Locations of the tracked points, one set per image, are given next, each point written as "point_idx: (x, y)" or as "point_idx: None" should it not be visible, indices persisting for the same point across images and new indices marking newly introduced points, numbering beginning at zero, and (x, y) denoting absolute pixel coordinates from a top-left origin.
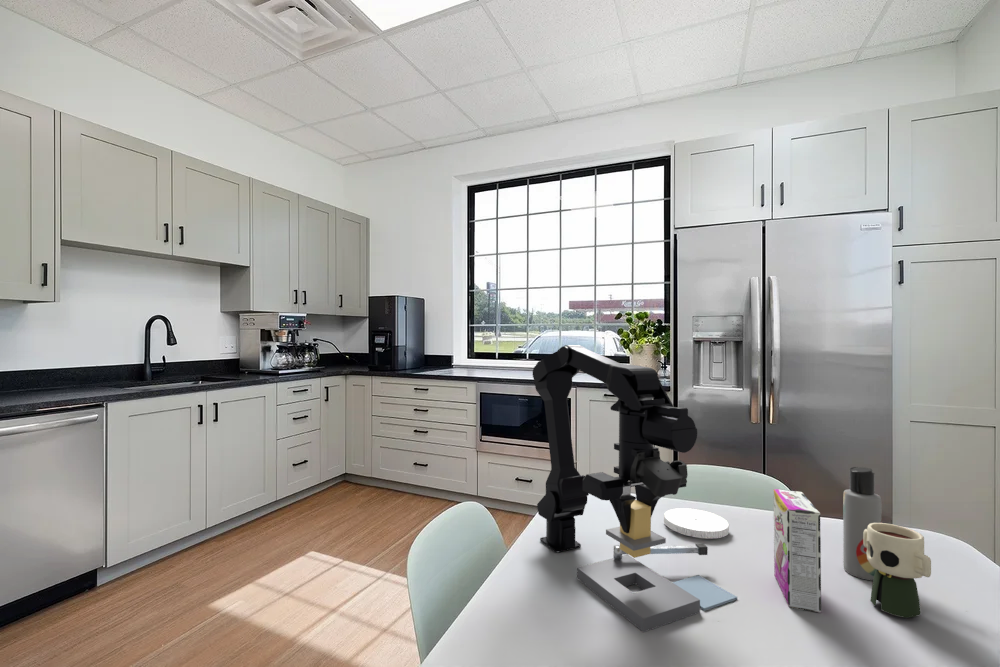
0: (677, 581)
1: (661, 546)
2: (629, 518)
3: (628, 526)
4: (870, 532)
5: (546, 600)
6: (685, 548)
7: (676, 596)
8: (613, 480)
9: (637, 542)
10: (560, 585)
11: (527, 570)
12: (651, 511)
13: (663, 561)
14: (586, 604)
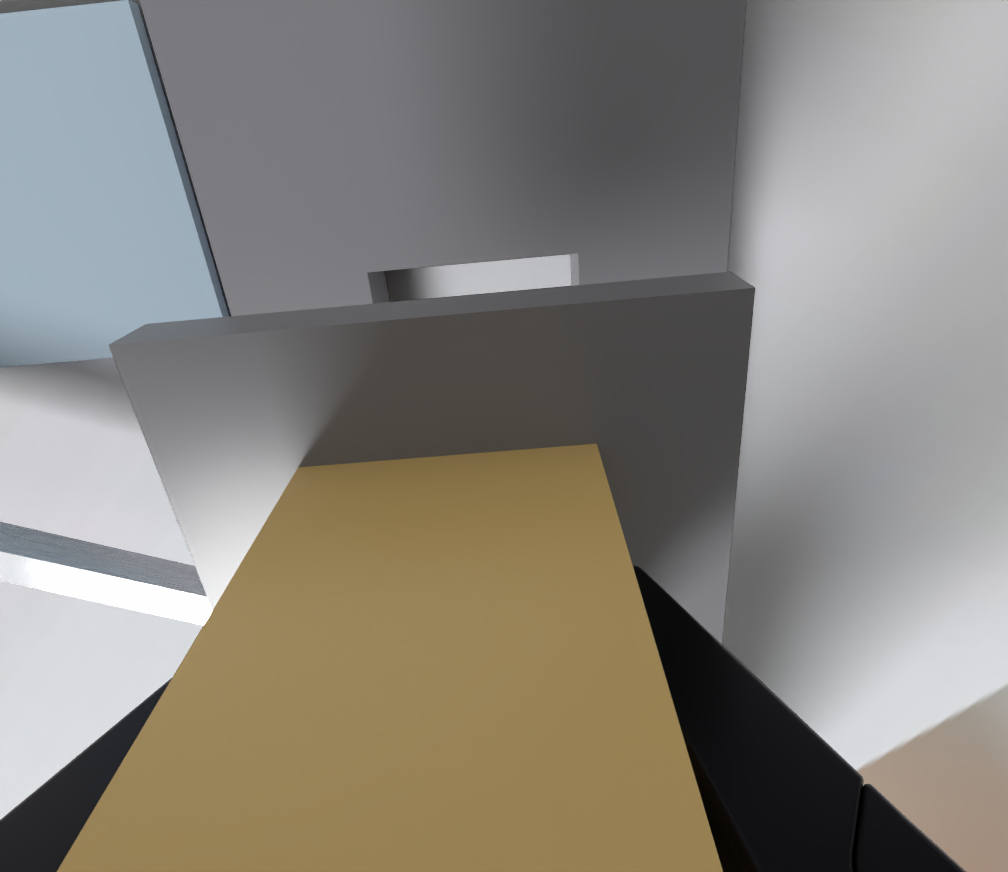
0: None
1: (81, 593)
2: (712, 733)
3: (665, 621)
4: None
5: (979, 443)
6: None
7: (299, 95)
8: None
9: (618, 362)
10: (809, 533)
11: (859, 679)
12: (50, 825)
13: None
14: (816, 342)
